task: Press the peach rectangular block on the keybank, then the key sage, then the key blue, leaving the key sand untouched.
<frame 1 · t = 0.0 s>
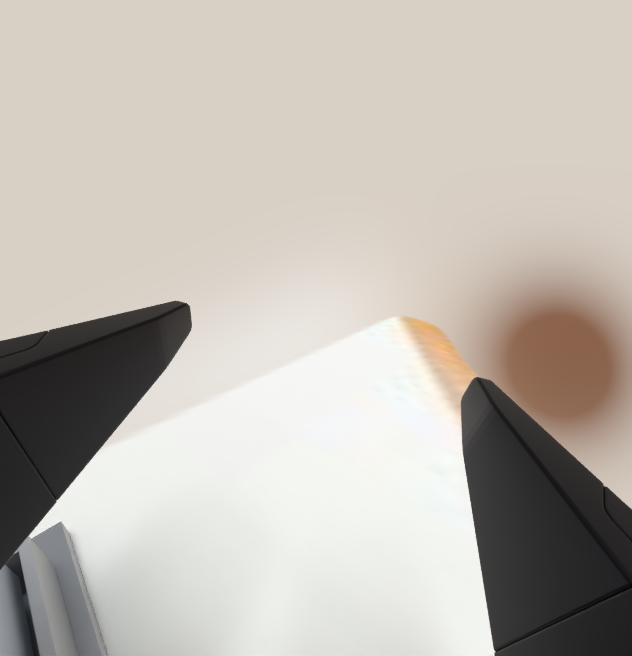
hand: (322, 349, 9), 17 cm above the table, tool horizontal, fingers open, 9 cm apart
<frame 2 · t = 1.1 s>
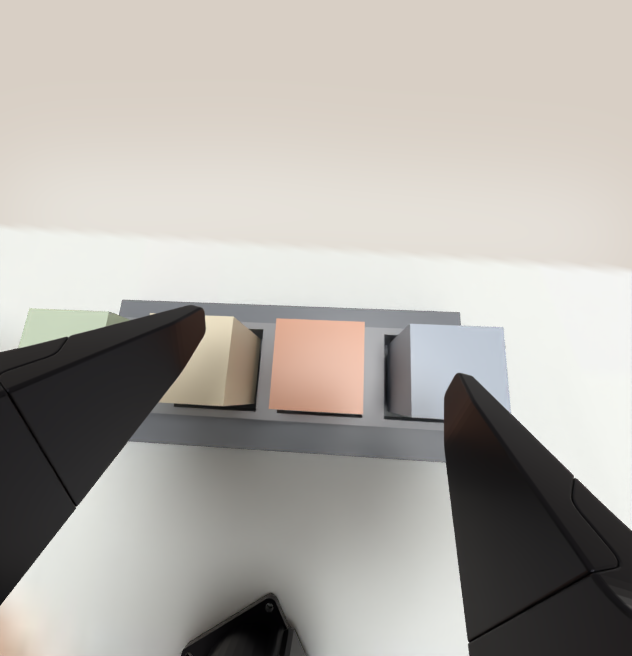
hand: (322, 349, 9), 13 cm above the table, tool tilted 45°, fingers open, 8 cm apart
keybank: (283, 375, 22), on the table
key blue: (436, 375, 15), point 7 cm above the table, slide at 0.0 cm
peach rectangular block: (320, 370, 16), point 7 cm above the table, slide at 0.0 cm
key sand: (209, 364, 16), point 7 cm above the table, slide at 0.0 cm
key sage: (102, 359, 16), point 7 cm above the table, slide at 0.0 cm
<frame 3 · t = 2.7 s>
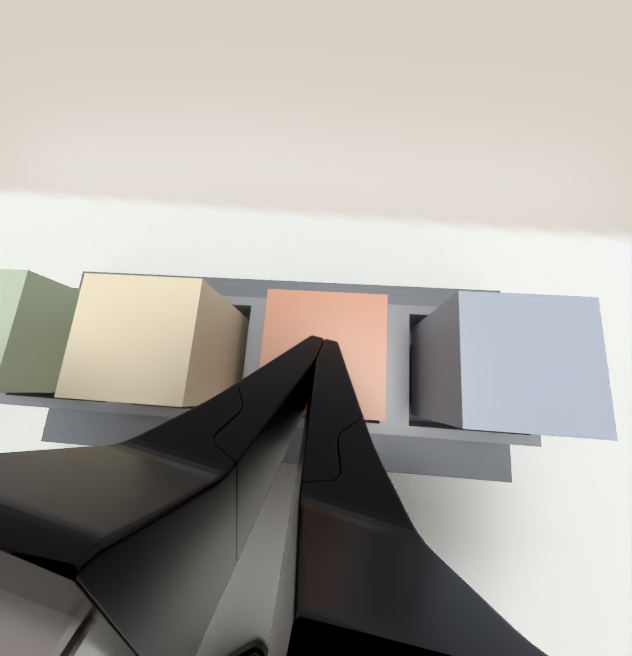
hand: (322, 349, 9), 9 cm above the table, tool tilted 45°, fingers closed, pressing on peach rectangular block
keybank: (278, 367, 18), on the table
key blue: (484, 368, 11), point 7 cm above the table, slide at 0.0 cm
peach rectangular block: (325, 360, 12), point 6 cm above the table, slide at 0.7 cm, touching gripper
key sand: (175, 348, 12), point 7 cm above the table, slide at 0.0 cm
key sage: (35, 339, 12), point 7 cm above the table, slide at 0.0 cm
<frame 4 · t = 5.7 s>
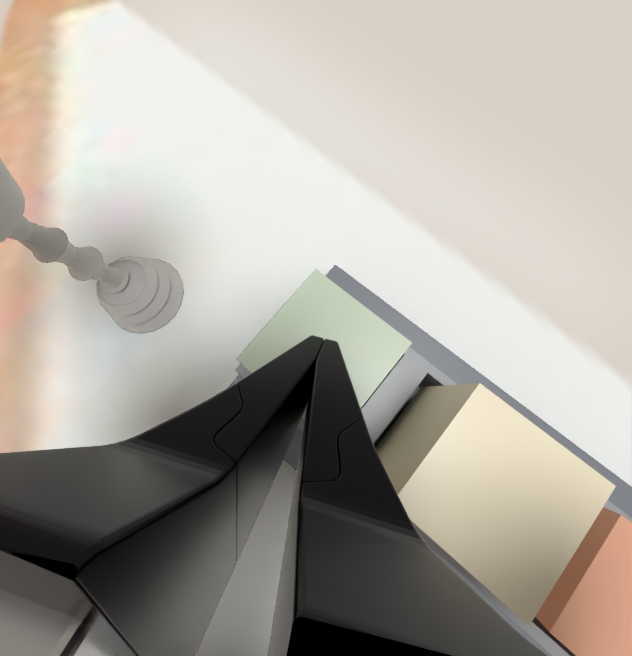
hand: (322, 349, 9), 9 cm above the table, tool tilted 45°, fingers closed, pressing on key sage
keybank: (455, 477, 16), on the table
chalice: (147, 296, 20), on the table
peach rectangular block: (574, 569, 11), point 5 cm above the table, slide at 1.9 cm
key sand: (458, 468, 10), point 7 cm above the table, slide at 0.0 cm
key sage: (325, 360, 12), point 6 cm above the table, slide at 0.9 cm, touching gripper
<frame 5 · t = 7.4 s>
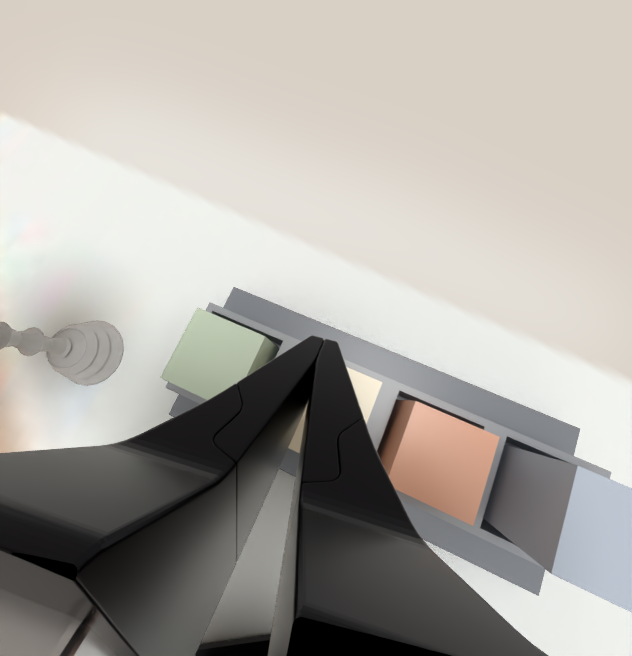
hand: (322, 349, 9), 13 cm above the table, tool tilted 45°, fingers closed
keybank: (364, 419, 21), on the table
chalice: (93, 352, 24), on the table
key blue: (564, 514, 14), point 7 cm above the table, slide at 0.0 cm
peach rectangular block: (424, 449, 16), point 5 cm above the table, slide at 1.9 cm
key sand: (322, 405, 15), point 7 cm above the table, slide at 0.0 cm
key sage: (230, 362, 18), point 5 cm above the table, slide at 1.9 cm
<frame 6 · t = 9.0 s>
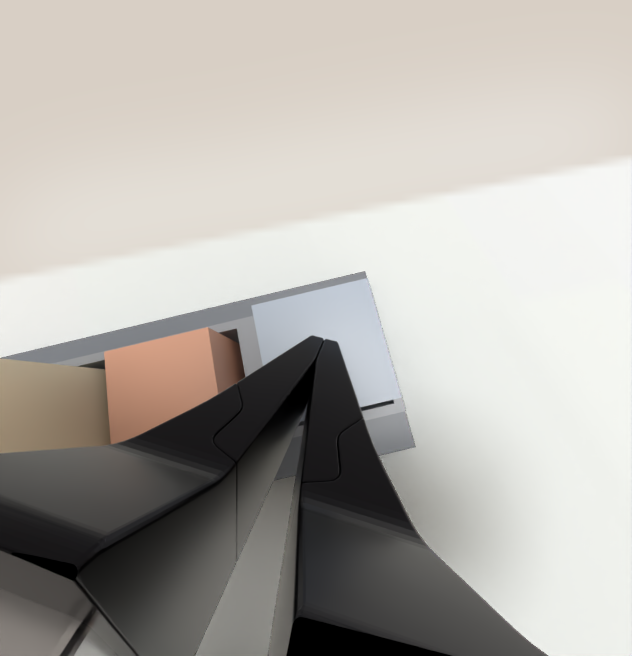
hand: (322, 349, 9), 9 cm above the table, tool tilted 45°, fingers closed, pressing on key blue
keybank: (182, 404, 18), on the table
key blue: (325, 358, 12), point 6 cm above the table, slide at 0.7 cm, touching gripper
peach rectangular block: (195, 392, 13), point 5 cm above the table, slide at 1.9 cm
key sand: (25, 428, 12), point 7 cm above the table, slide at 0.0 cm
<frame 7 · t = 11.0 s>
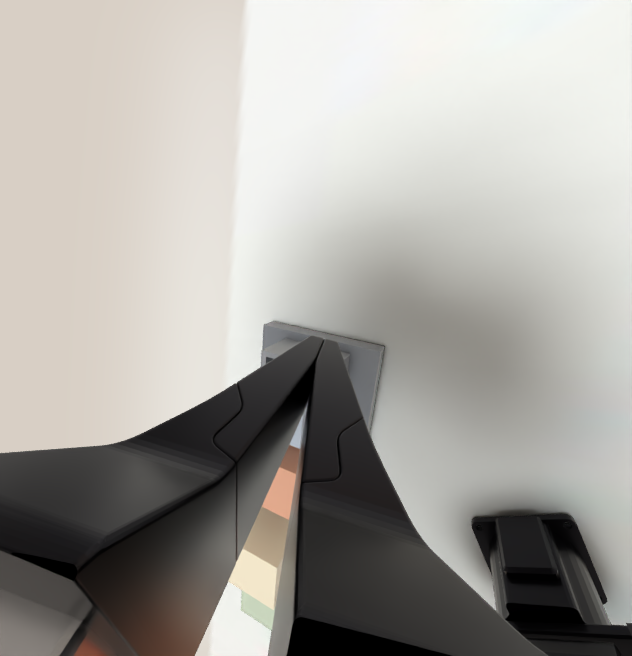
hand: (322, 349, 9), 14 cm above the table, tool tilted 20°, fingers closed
keybank: (310, 458, 28), on the table
key blue: (294, 394, 22), point 5 cm above the table, slide at 1.9 cm
peach rectangular block: (289, 462, 23), point 5 cm above the table, slide at 1.9 cm
key sand: (271, 541, 23), point 7 cm above the table, slide at 0.0 cm
key sage: (279, 574, 27), point 5 cm above the table, slide at 1.9 cm
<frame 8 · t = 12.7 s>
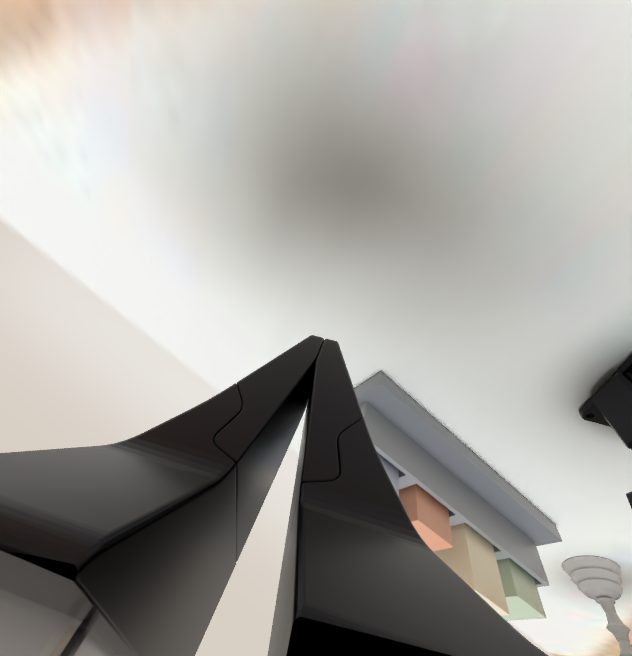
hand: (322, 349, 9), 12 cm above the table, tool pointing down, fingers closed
keybank: (430, 472, 30), on the table
chalice: (589, 565, 32), on the table
key blue: (362, 464, 24), point 5 cm above the table, slide at 1.9 cm
peach rectangular block: (412, 503, 25), point 5 cm above the table, slide at 1.9 cm
key sand: (461, 563, 25), point 7 cm above the table, slide at 0.0 cm
key sage: (499, 570, 28), point 5 cm above the table, slide at 1.9 cm
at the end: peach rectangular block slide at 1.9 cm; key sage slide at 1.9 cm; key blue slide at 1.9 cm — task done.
